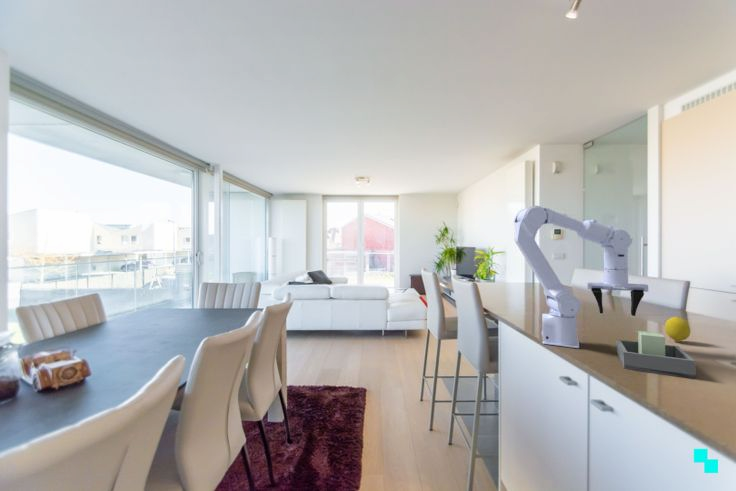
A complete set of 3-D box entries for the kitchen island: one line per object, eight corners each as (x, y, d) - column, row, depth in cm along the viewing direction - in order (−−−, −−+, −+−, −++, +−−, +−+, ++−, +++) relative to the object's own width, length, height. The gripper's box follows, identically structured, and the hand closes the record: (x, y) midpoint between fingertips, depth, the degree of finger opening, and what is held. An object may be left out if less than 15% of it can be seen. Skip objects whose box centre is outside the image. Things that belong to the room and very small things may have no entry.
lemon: (695, 345, 94) (694, 318, 94) (673, 344, 95) (673, 318, 95) (681, 340, 100) (680, 314, 100) (660, 339, 101) (660, 314, 101)
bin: (624, 368, 78) (623, 352, 78) (616, 353, 88) (616, 339, 88) (695, 378, 71) (695, 361, 71) (678, 361, 82) (678, 345, 82)
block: (642, 362, 79) (641, 334, 79) (638, 357, 83) (637, 330, 83) (665, 365, 77) (664, 337, 77) (660, 360, 80) (660, 332, 80)
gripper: (587, 269, 96) (588, 314, 96) (650, 270, 89) (651, 319, 89) (586, 268, 102) (587, 310, 102) (644, 269, 95) (646, 314, 95)
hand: (616, 314), depth 96 cm, fingers open, 7 cm apart
